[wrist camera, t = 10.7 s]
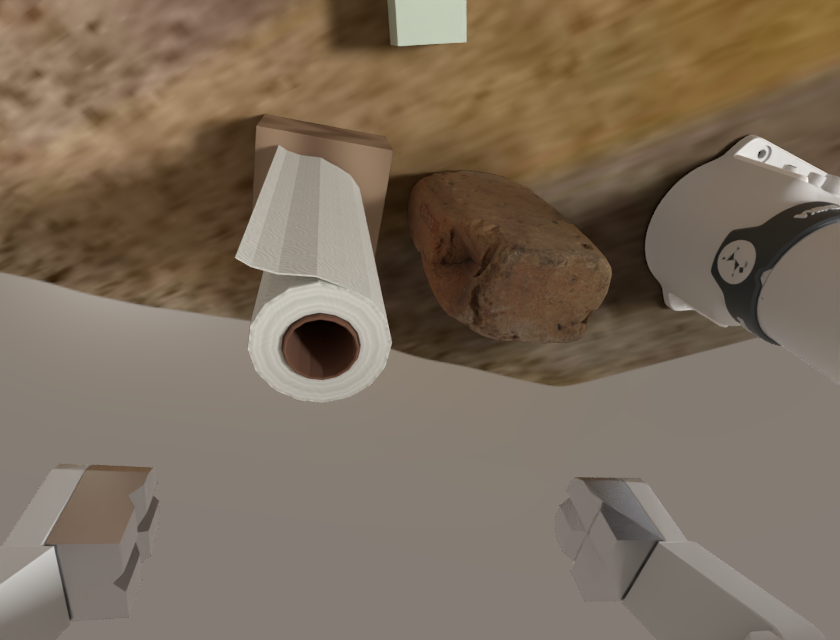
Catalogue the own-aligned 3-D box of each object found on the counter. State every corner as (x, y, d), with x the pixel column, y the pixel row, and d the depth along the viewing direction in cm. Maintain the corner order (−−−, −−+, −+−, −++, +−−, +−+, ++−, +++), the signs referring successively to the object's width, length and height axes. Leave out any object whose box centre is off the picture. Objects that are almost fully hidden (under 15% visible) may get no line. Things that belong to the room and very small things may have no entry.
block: (524, 176, 48) (636, 258, 30) (502, 251, 51) (592, 362, 34) (411, 156, 45) (464, 233, 28) (396, 236, 49) (435, 348, 31)
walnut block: (385, 136, 44) (393, 150, 39) (367, 245, 48) (372, 270, 43) (264, 114, 42) (256, 125, 36) (257, 230, 46) (249, 255, 41)
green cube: (450, -34, 39) (465, -43, 34) (451, 41, 41) (466, 41, 37) (385, -31, 38) (392, -39, 34) (390, 44, 41) (397, 46, 36)
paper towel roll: (362, 237, 42) (390, 402, 23) (285, 237, 41) (254, 410, 22) (361, 146, 38) (395, 256, 20) (278, 144, 37) (233, 258, 19)
